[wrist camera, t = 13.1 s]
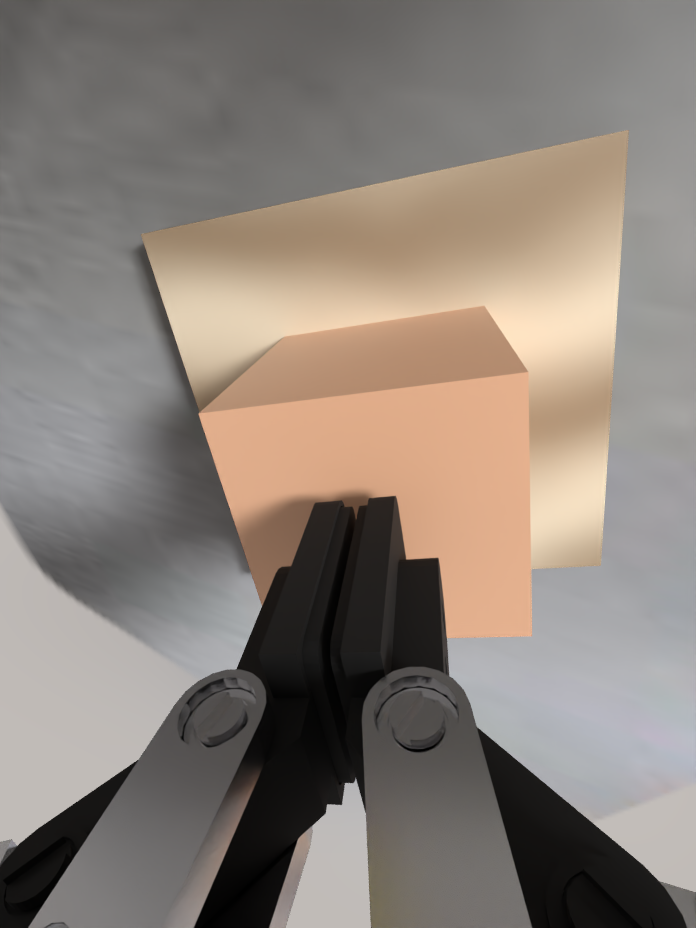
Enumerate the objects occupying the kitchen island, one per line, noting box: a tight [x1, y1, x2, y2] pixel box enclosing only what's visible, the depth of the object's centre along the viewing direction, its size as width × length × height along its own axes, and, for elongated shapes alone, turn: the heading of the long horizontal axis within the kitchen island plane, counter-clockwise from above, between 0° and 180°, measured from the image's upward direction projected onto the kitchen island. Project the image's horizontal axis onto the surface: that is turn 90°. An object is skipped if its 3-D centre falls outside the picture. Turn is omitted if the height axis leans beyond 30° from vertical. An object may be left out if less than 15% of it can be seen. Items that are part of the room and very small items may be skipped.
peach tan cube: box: [199, 306, 532, 638], centre depth 14 cm, size 6×6×7 cm
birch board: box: [141, 130, 629, 569], centre depth 17 cm, size 14×14×1 cm
